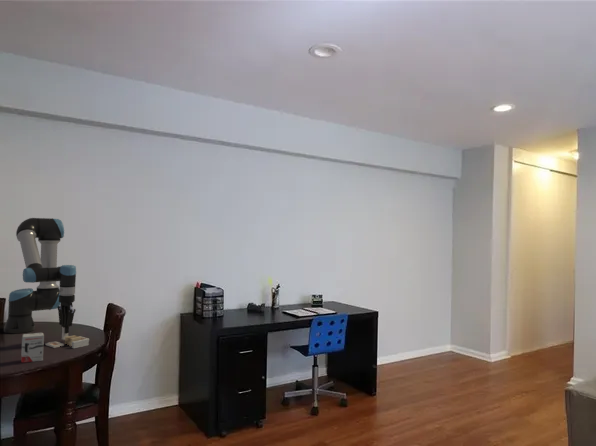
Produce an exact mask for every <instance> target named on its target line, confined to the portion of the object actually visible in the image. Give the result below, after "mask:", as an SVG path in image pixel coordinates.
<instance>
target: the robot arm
mask: <svg viewBox="0 0 596 446" xmlns="http://www.w3.org/2000/svg"><path fill="white" fill-rule="evenodd" d="M15 236H16V240H17V241H18V242H19V244H20V248H21V252H22V256H23V260H24V265H25V268H24V269H23V270H22V280H23V281H22V282H24V283H28V284H29V283H39V285H37V286H36V290H33V288H29V287H28V288H20V289H15V290H12V291H11V292H10V293H9V295H8V310H7V312H8V313H7V315H8V316H7V319H6V322H5V324H4V327H3V333H7V334H26V333H30V332H33V331H35V330H36V325H35V321H34V319H33V312H37V311H38V312H39V311H51V310H57V311H58V313H57V314H58V322H59V326H61V341H62V340H63V341H65V337H68V336H69V331H70V327H72V325H73V321H74V316H75V313H76V311H77V310H76V308H74V307H73V306H74V305H73V303H74V302H75V301H76V300H75V299H76V295H75V294H76V279H77V278H76V277H77V266H76V265H74V264H73V265H72V264H64V265H63V264H62V265H60V266H57V265H58V244H59V243H60V242H61V239H63V238H64V237H65V227H64V223H63V222H62V220H61V219H59V218H50V217H49V218H48V217H47V218H46V217H43V218H42V217H29V218H26V219H25V220H23V221H22V222H20V224H19V225H18V226H17V229H16V232H15ZM36 240H38V242H39V244H40V252H39V247H38V243H37V241H36ZM57 282H59V285H58V284H57Z"/></svg>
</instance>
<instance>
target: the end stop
mask: <svg viewBox="0 0 596 446" xmlns="http://www.w3.org/2000/svg"><path fill="white" fill-rule="evenodd" d="M89 345H90V338H88V339H83V340H78V341H73V342H72V347H71V348H72V349H76V348H82V347H87V346H89Z"/></svg>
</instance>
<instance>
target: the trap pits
mask: <svg viewBox="0 0 596 446" xmlns="http://www.w3.org/2000/svg"><path fill="white" fill-rule="evenodd" d="M79 337H81V340H83V339H89V338H88V337H84V336H81V335H80V336H79ZM45 346H47V347H50V348H54V349H55V348H61V347H64V346H65V343H62V342H60V341H54V340H53V341H50V342H45ZM60 346H61V347H60Z"/></svg>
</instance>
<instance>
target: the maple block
mask: <svg viewBox="0 0 596 446" xmlns="http://www.w3.org/2000/svg"><path fill="white" fill-rule="evenodd" d="M81 337H82V336H81ZM81 337H79V336H78V335H68V337H65V340H64V345H65V344H67V345H66V346H68V345H69V346H68V347H71V346H72V342H73V341H78V340H81Z"/></svg>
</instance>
